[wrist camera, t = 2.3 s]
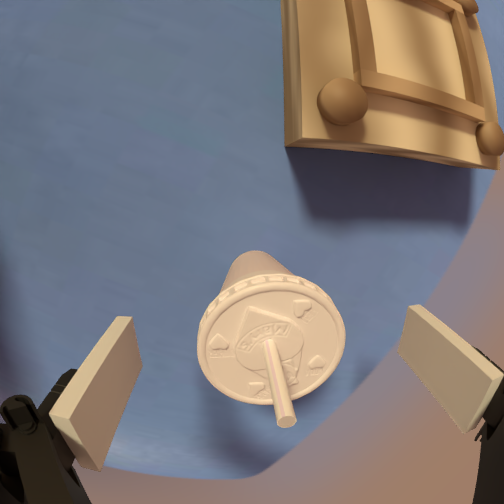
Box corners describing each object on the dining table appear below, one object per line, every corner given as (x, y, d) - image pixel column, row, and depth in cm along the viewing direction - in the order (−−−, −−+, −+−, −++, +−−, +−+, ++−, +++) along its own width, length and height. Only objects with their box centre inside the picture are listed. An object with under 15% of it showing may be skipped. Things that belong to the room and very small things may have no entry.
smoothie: (278, 216, 20) (372, 300, 6) (311, 294, 22) (400, 435, 8) (193, 255, 20) (137, 396, 7) (233, 328, 22) (242, 494, 8)
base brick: (284, 146, 19) (308, 134, 13) (278, -30, 15) (292, -75, 9) (459, 167, 20) (510, 171, 14) (440, 14, 16) (477, -7, 10)
